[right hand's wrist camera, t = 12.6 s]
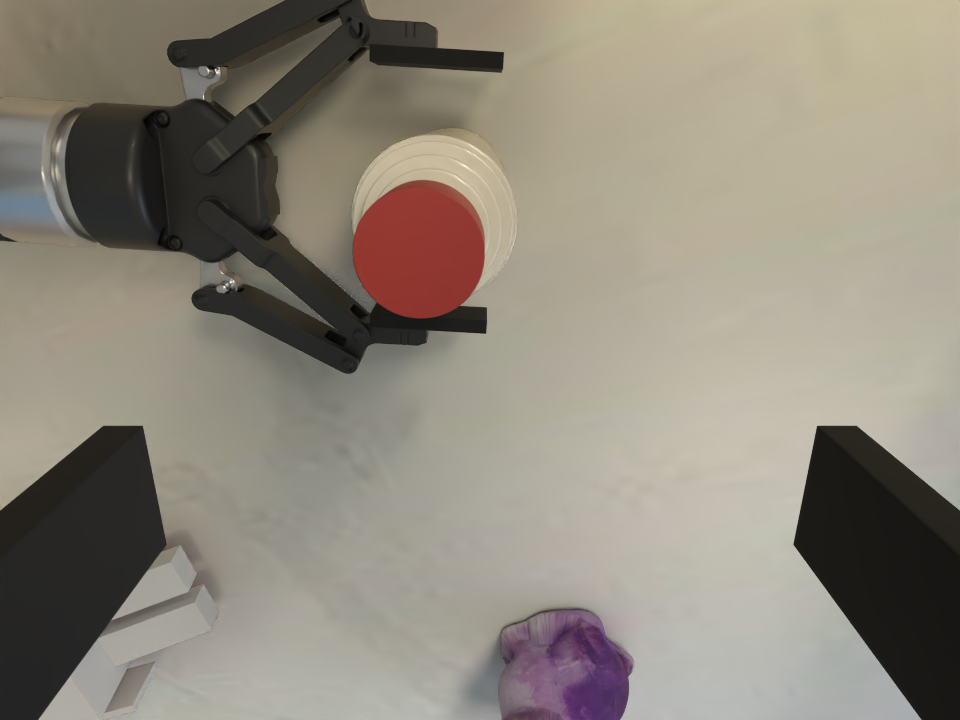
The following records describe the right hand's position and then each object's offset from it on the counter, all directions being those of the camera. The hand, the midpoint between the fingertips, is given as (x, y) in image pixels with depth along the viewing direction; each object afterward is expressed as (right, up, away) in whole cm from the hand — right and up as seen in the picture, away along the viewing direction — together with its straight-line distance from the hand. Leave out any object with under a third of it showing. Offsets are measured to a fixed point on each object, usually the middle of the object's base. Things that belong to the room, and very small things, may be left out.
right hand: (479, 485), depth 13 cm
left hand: (+1, +11, +22) cm, 25 cm away
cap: (-2, +6, +7) cm, 10 cm away
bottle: (-2, +14, +29) cm, 32 cm away
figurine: (+6, -21, +42) cm, 47 cm away
